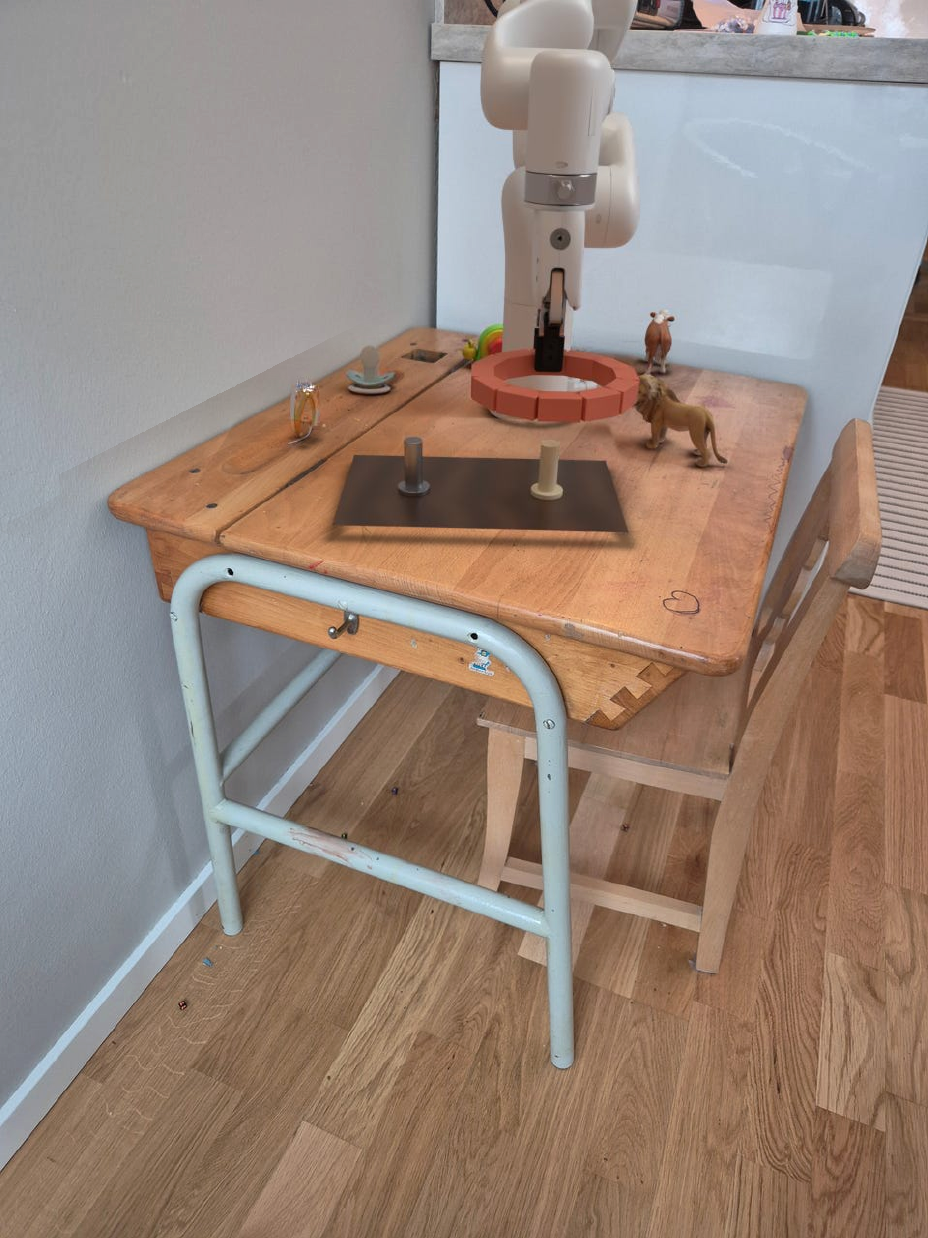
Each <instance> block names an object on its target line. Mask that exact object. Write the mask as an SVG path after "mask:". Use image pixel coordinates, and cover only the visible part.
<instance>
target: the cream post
mask: <svg viewBox="0 0 928 1238" xmlns="http://www.w3.org/2000/svg"><path fill="white" fill-rule="evenodd" d="M560 445H561V444H560V442H559V441H557V440H553V439H545V440H542V441H541V443H540V452H539V453H540V454H539V459H540V467H539V481H538V483H536V484H534V485H532V487H531V495H532V496H533V497H535V498H538V499H542V500H555V499H558V498H560V497H561V496H562V493H563V489H562V487H561V486H559V485H557V484H556V480H557V468H558V460H559V457H560V456H559V455H560Z"/></svg>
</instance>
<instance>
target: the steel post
mask: <svg viewBox="0 0 928 1238" xmlns="http://www.w3.org/2000/svg"><path fill="white" fill-rule="evenodd" d="M423 445H424V444H423V439H422V437H418V436H408V437H406V438H404V440H403V449H404V450H403V451H404V452H403V453H404V455H403V456H404V457H405V481H402V482H400V483H399V484H398V492H399V493H400V494H402V495H404V496H408V497H420V496H424V495H426V494H428V493H429V491H430V485H429V483H428V482H426V481H423V456H424V454H423V452H424V449H423Z"/></svg>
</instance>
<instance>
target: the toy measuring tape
mask: <svg viewBox="0 0 928 1238" xmlns="http://www.w3.org/2000/svg"><path fill="white" fill-rule="evenodd" d="M502 336H503V323H495V324H492V325H490V326H488V327H486V328H485V329H484V330H483V331H482V332H481V334H480V335H479V338H478V341H477V347H476V346H475V343H474V341H473V339H469V340H468V341H467V344H466V345H464V346H463V347H462V350H461V354H462V356H463V358H464V359H466V360H469V361H471V360H472V364H473V363H474V362H477V361H479V360H481V359H483V358H485V357H487V356H489V355H491V354H493V355H494V354H495V353H501V352H502Z"/></svg>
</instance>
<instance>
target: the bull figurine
mask: <svg viewBox="0 0 928 1238" xmlns="http://www.w3.org/2000/svg"><path fill="white" fill-rule="evenodd" d="M649 316H650V318H652V320H651V321H650V323H649V324H648V326H647V328H646V331H645V334H644V335H645V336H644V345H645V355H644V358H643V360H642V362H643V363H647V367H646V370H645V372H644V374H649V375H651V368H652V366H653V364H654V363H653V362H654V360H655V362H656V365H658V366H660V368H659V371H658V372H659V373H661V374H665V373H666V367H665V366H666V363H667V356H668V353H669V352H670V350H671V347H672V344H673V343H672V342H673V341H672V335H671V332H670V327H671V326H672V325H671V324H672V322H674V321H675V317H674V316H672V315H671V314H670V313H669V311H668V310H667V309H661V310H660V311H659V312H658V313H657V312H655V311H651V312H650V313H649Z"/></svg>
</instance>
